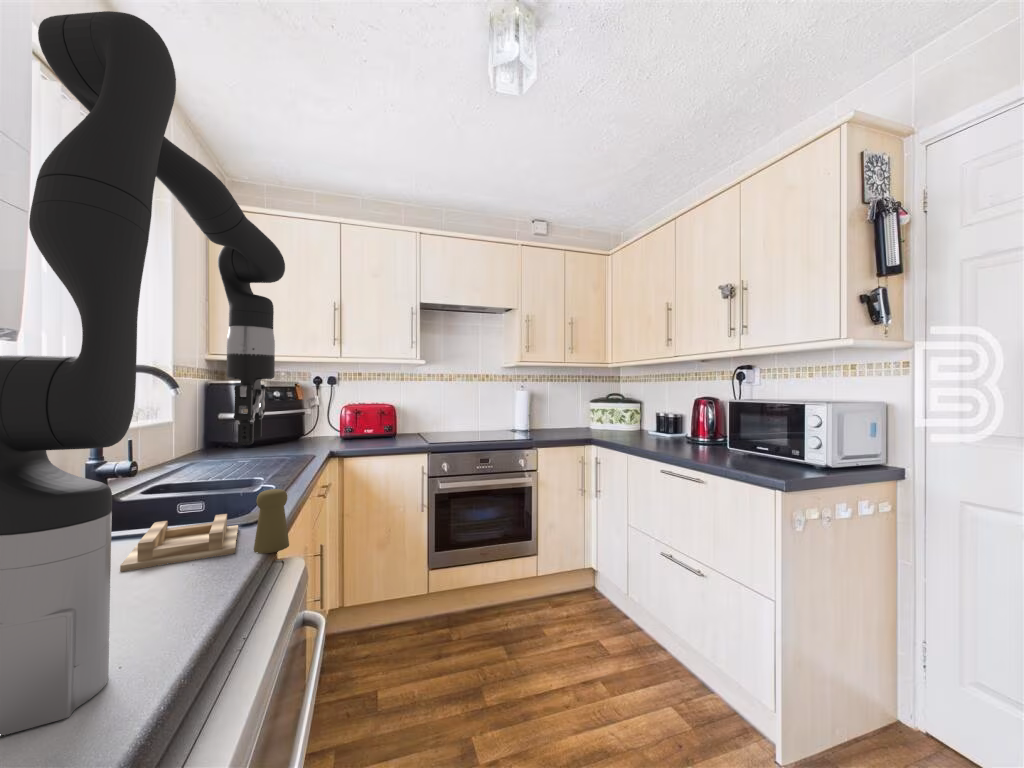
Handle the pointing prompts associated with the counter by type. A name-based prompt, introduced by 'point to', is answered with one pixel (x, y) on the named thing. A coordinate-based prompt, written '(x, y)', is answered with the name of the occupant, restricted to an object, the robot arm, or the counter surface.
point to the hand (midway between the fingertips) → (250, 441)
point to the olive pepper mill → (271, 522)
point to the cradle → (182, 543)
